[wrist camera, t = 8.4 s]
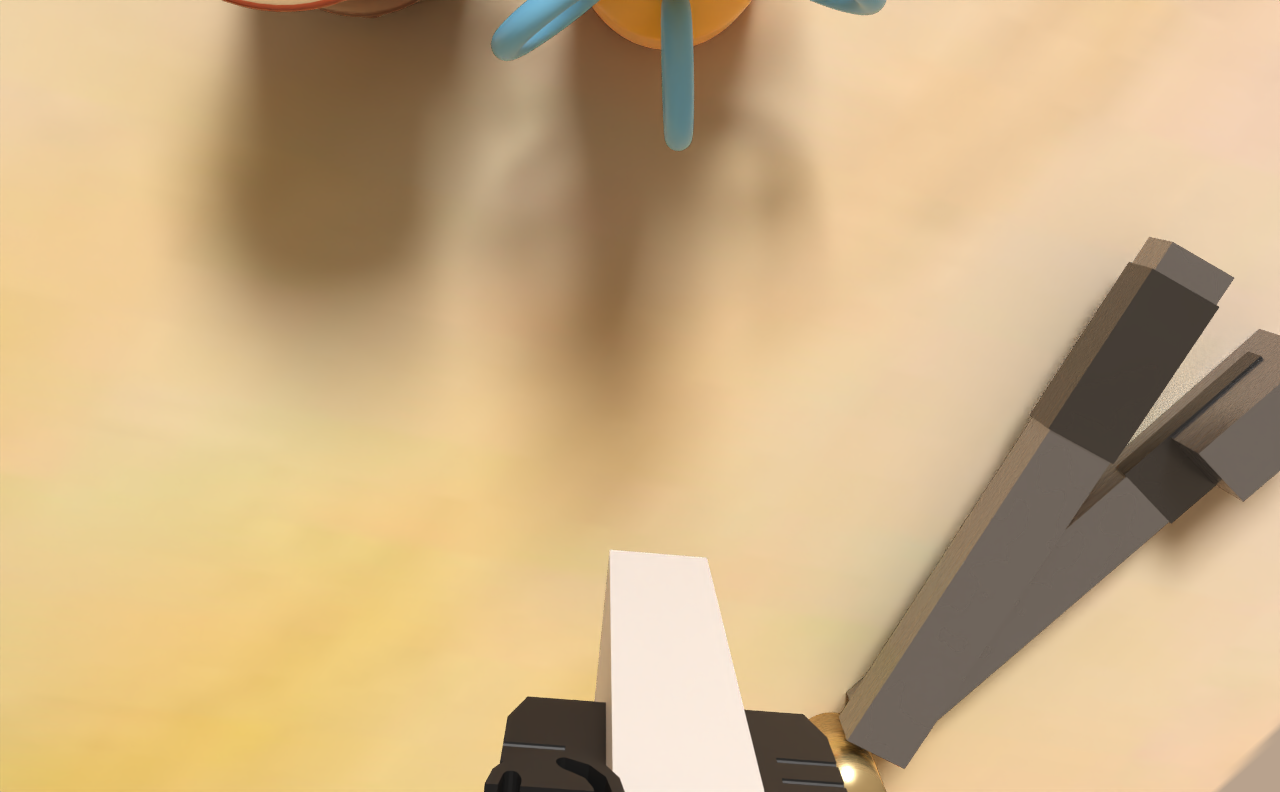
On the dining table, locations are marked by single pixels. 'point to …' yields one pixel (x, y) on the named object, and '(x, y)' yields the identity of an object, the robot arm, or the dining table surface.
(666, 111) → the cylinder
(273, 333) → the dining table surface
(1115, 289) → the tongs arm
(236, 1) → the mug
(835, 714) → the tongs fixed
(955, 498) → the dining table surface
